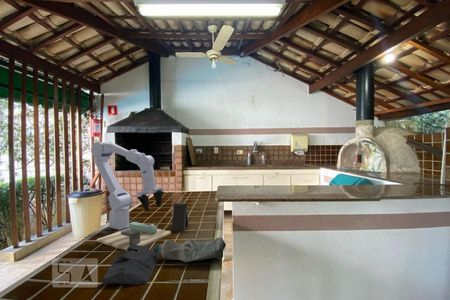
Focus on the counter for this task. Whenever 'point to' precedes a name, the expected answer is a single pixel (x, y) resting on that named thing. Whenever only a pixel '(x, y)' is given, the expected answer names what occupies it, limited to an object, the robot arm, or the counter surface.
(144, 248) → the dark grey cloth
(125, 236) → the keeper board
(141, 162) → the robot arm
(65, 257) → the counter surface
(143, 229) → the link
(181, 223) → the phone stand
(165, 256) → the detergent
